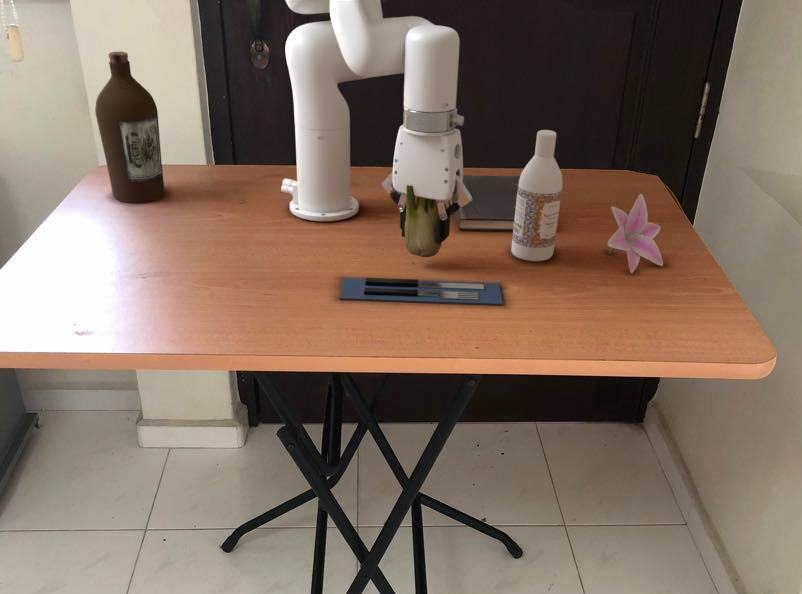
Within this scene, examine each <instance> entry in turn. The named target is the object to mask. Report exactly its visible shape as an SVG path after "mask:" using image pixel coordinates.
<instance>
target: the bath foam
mask: <svg viewBox="0 0 802 594" xmlns="http://www.w3.org/2000/svg"><path fill="white" fill-rule="evenodd" d="M556 141H557V132H556V131H554V130H551V129H540V130H538V131H537V133H536V140H535V150H534V155H533V156H532V158H531V159H530V160H529V161H528V163H526V165H525V167H524V168H523V170H522V172H521V173H520V175H519V176H520V179H519V184H518V192H517V201H516V210H515V219H514V228H513V232H512V237H511V238H512V239H511V248H510V249H511V254H512V255H513V256H514V257H515V258H517V259H519V260H523V261H526V262H543V261H547V260H550V259H551V258H552V257H553V255H554V251H555V245H556V238H557V232H558V231H557V230H558V223H559V215H560V208H561V202H562V196H563V195H562V194H563V182H564V181H563V175H562V172H561V169H560V166H559V164H558V162H557V161H556V158H555V149H556Z"/></svg>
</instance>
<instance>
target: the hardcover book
mask: <svg viewBox="0 0 802 594" xmlns="http://www.w3.org/2000/svg"><path fill="white" fill-rule="evenodd" d="M520 176H521V175H519V176H518V175H516V176H515V175H469V174H466V175H465V174H463V183H464V185H465V187H466V188H467V190H468V191H469V193H470V195H471V196H472V201H471V202H469V203H468V204H467V205H465V206H463V207H462V208H460V209H459V210H457V211H456V212H455V213H454V215H455V219H456V225H457V228H458V230H459V231H461V232H512V233H513V228H514V219H515V210H516V201H517V192H518V184H519V179H520ZM451 200H452V204H453V203H454V202H456V201H457V200H459V196H458V195H457V194H453V195H452V198H451Z"/></svg>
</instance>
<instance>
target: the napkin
mask: <svg viewBox="0 0 802 594" xmlns="http://www.w3.org/2000/svg"><path fill="white" fill-rule="evenodd" d="M366 278H367V277H343V278H342V284H341V289H340V293H339V301H340V300H342V301H365V302H368V301H369V302H395V303H396V302H397V303H419V304H420V303H421V304H422V303H423V304H447V305H448V304H449V305H450V304H451V305H476V306H478V305H479V306H503V298H502V291H501V287H500V283H499V282H480V281H479V282H475V281H453V280H452V281H450V280H425V279H424V280H422V279H421V280H419V279H417V280H418V282H434V283H461V284H483V285H484V290H465V289H437V288H418V287H393V286H366V285H365V280H366ZM364 288H384V289H411V290H418V292H438V291H451V292H468V293H478V298H479V300H454V299H438V297H421V296H417V297H416V296H388V295H364Z"/></svg>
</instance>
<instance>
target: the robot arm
mask: <svg viewBox="0 0 802 594" xmlns="http://www.w3.org/2000/svg"><path fill="white" fill-rule="evenodd" d="M285 3H286V5H287V6H288V8H289V9H290V10H291V11H292V12H293V13H296V14H302V15H315V14H329V16H330V20H324V21H314V22H307V23H304V24H302V25H301V24H300V25H299V26H297V27H296V28H295V29H293V30H292V31H291V32H290V34H289V35H288V36H287V39H286V41H285V59H286V64H287V69H288V73H289V78H290V83H291V90H292V98H293V99H292V101H293V115H294V131H295V132H294V133H295V135H294V136H295V158H296V180H294V179H290V178H283V180H282V183H281V187H280V193H282V194H288V195H291V196H292V199H291V201H290V202H289V211H290V212H291V214H292V215H294V216H296V217H298V218H300V219H302V220H307V221H312V222H337V221H342V220H346V219H349V218H351V217H354V216H355V215H356V214H358V212H359V210H360V203H359V201H358V200H357V199H356V198H354V197H353V196H351V115H350V108H349V105H348V102H347V101H346V99H345V97H344V96H343V94H342V93H341V91H340V90H339V86H338V84H340V83H341V84H342V83H344V82H351V81H358V80H364V79H369V78H376V77H383V76H391V75H400V74H404V76H403V77H404V82H403V117H402V123H403V124H402V125H400V126H399V129H398V132H397V136H396V141H395V147H394V155H393V162H392V171H391V172H390V173H389V174H388V175H387V177H385V179H384V180H383V181H382V182H381V188H382V189H383V190H384V191H385V192H386V193H387V194H388V195H389V196H390V199H391V200H392V201H393V203H394V204H395V205H396V209H397V211H398V212H399V229H401V237H402V238H405V221H406V208H407V184H408V185H412V186H413V191H414V195H415V198H417V197H421V198H426V199H432V200H436V203H437V208H438V212H439V218H438V219H437V220H436V230H435V243H436V244H441V243H442V244H443V243H444V242H445V240H446V239H448V237H449V236H450V229H451V216H452V215H454V214H455V212H456V211H457V210H459V209H460V208H462V207H463V206H465V205H467V204H468V203H469V202H471V201H472V196H471V195H470V193H469V191H468V190H467V188H466V187H465V185H464V183H463V175H464V156H463V155H464V154H463V144H462V135H461V129H458V128H456V127H457V126H460V127H462V126H463V125H464V122H465V117H464V116H463V115H459V114H458V108H457V93H458V75H459V60H460V59H459V58H460V36H459V33H458V32H457V31H456V30H455V29H454V28H452V27H450V26H444V25H436V24H434V23H432V22H431V21H430V20H428V19H426V18H424V17H421V16H415V15H409V16H398V17H385V18H384V16H383V15H384V14H383V9H382V2H381V0H285ZM453 194H457V195H458V196H459V200H457V201H456V202H454V203H453V201H452V195H453Z"/></svg>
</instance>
